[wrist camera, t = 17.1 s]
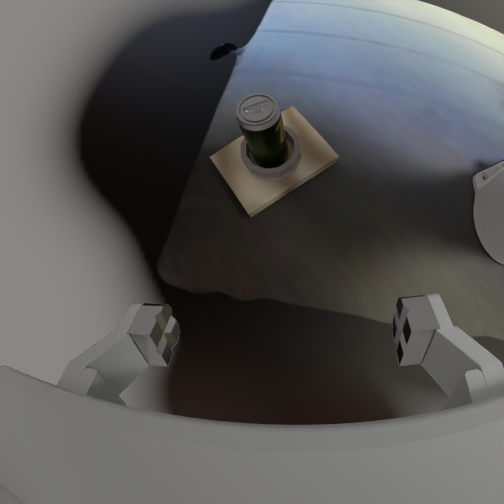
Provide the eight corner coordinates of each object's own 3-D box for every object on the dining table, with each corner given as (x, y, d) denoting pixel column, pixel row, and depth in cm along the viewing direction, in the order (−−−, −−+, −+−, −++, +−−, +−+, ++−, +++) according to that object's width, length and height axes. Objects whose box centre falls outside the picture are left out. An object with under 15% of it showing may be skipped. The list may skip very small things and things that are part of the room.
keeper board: (293, 111, 46) (290, 96, 43) (338, 160, 43) (339, 148, 39) (212, 161, 48) (204, 149, 44) (250, 217, 44) (244, 209, 41)
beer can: (257, 174, 44) (237, 131, 32) (251, 144, 45) (231, 98, 34) (292, 166, 43) (283, 120, 31) (285, 137, 44) (274, 87, 33)
